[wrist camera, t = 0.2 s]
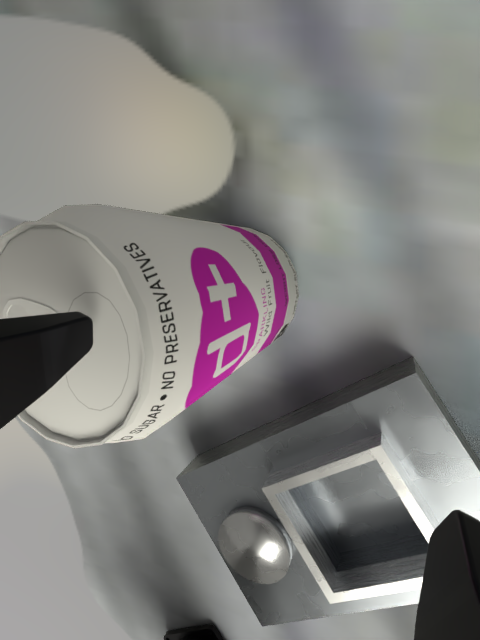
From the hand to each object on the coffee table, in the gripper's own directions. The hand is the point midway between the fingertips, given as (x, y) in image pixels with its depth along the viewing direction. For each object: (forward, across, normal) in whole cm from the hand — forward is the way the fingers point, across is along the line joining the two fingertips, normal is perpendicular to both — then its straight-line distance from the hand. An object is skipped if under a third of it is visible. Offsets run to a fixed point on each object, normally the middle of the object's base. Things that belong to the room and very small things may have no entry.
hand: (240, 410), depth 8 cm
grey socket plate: (+12, -5, +15) cm, 20 cm away
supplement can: (+15, +6, +5) cm, 17 cm away
